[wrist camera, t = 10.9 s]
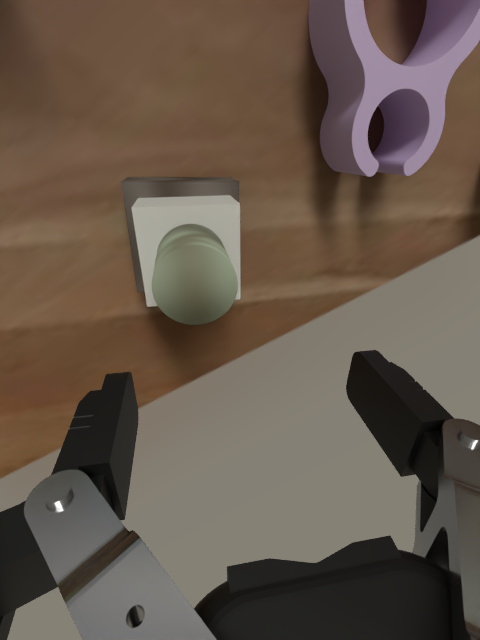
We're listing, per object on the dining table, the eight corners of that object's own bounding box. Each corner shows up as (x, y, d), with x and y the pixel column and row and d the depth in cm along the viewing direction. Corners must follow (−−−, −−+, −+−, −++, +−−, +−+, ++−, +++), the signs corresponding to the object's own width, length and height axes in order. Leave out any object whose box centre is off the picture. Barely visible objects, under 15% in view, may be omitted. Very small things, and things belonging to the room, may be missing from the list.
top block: (229, 195, 29) (239, 203, 25) (231, 278, 33) (240, 299, 28) (137, 198, 28) (131, 207, 23) (150, 284, 31) (147, 306, 27)
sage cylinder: (226, 223, 25) (239, 245, 20) (225, 289, 28) (236, 322, 22) (153, 223, 24) (147, 245, 19) (159, 291, 27) (155, 327, 22)
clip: (404, 169, 36) (451, 174, 30) (296, 172, 34) (323, 177, 28) (462, -102, 26) (549, -176, 20) (317, -121, 24) (365, -209, 18)
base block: (230, 177, 33) (239, 181, 29) (230, 270, 38) (237, 286, 33) (128, 176, 31) (121, 181, 27) (141, 274, 36) (137, 292, 32)
